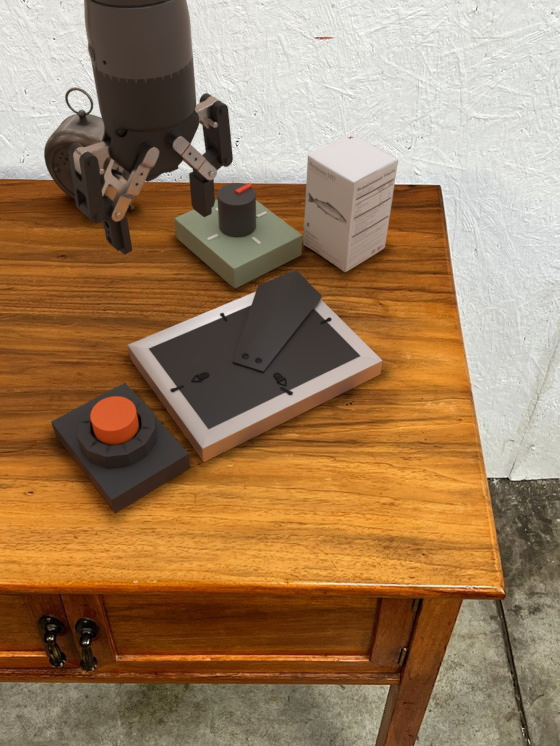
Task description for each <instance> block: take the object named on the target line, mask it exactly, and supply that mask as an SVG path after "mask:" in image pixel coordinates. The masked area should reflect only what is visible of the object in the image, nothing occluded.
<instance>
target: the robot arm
mask: <svg viewBox="0 0 560 746" xmlns="http://www.w3.org/2000/svg"><path fill="white" fill-rule="evenodd" d="M83 10H84V13H83V14H84V25H85V32H86V40H87V52H88V56H89V58H90V61H91V67H92V73H93V79H94V85H95V90H96V96H97V102H98V108H99V113H100V117H101V118H102V120H103V123H104V134H103V138H102V142H99V143H96V144H93V145H90V146H87V147H83V146H82V145H81V144H79V143H73V144H71V145H70V147H69V149H68V154H69V161H70V168H71V174H72V181H73V188H74V194H75V206H76V208H77V209H78V211H80V212H81V213H82V214H83V215H84V216H86V217H87V219H89V220H90V221H91V222H92V223H94V224H100V223H102V226H103V230H104V236H105V240H106V241H107V242H108V244H109V245H110V246H111V247H112V248H114V249H115V250H116V251H117V252H120V253H121V254H122V255H127V254H129V253H131V252H132V251H133V245H132V238H131V233H130V228H129V226H130V225H129V221H128V217H127V216H126V213H127V211H128V209H129V205H130V203H131V204H132V200H133V199H136V198H138V197H139V196H140V193H141V191H142V188H143V186H144V184H145V182H147V183H149V182H151V181H153V180H156V179H158V178H159V177H160V176H162V175H163V174H168V173H173V172H174V171H177V170H179V165H181V163H183V162H184V163H186V165H187V166H188V167H190V168H191V169H192V171H191V172H189V173H188V178H189V180H188V181H189V190H190V201H191V207H192V210H195V211H196V212H198V213H199V214H200V215H202V216H203V217H206V216H208V215H211V214H212V207H214V203H215V200H216V196H215V195H216V193H215V178H216V177H217V174H218V170H220V169H221V168H222V167H224V168H228V167H230V166H231V165H232V163H233V160H234V156H233V145H232V135H231V125H230V124H231V123H230V113H229V107H228V105H227V104H226V103H224V102H223V101H221V100H220V99H218V98H217V97H216V96H213V95H211V94H210V93H208V92H204V93H203V94H201V96H200V98H199V103H197V92H196V80H195V65H194V64H195V63H194V51H193V40H192V39H193V37H192V26H191V25H192V23H191V17H190V15H191V14H190V11H189V5H188V1H187V0H83ZM200 125H201V126H202V133H203V142H204V150H205V152H204V153H203V154H202V153H201V152H200V151H198V150H197V149H196V148H195V147H194V146H193V145H192V142H193V140H194V137H195V135H196V133H197V131H198V129H199V126H200ZM108 157H110V158H111V160H110V163H109V165H108V167H107V169H106V172H105V174H104V180H105V184H104V186H103V188H102V187H101V179H100V175H102V174H103V173H104V169H103V168H104V162H105V160H106V159H107V158H108ZM124 169H125V170H126V171H127V172H128V173H130V177H129V179H128V181H126V180H125V179H124V178H123V176H122V173H123V170H124ZM117 192H118V194H117ZM116 195H117V196H116ZM115 197H116V198H115ZM114 199H115V201H114Z"/></svg>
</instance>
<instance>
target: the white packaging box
mask: <svg viewBox="0 0 560 746" xmlns="http://www.w3.org/2000/svg"><path fill="white" fill-rule="evenodd" d="M398 165H399V158H398V157H396V156H394V155H393V154H390V153H388V152H387V151H385V150H383V149H381V148H379V147H377V146H376V145H374V144H373V143H371V142H369V141H367V140H365V139H363V138H362V137H360V136H357V135H356V134H355V133H353V132H351V133H348V134H345V135H344V136H341V137H340V138H338V139H336V140H334V141H331V142H330V143H328V144H326V145H324V146H322V147H320V148H318V149H316V150H314V151H312V152H310V153H309V154H307V163H306V180H305V181H306V183H305V184H306V185H305V201H304V203H305V204H304V217H303V218H304V219H303V237H302V246H305V247H307V248H308V249H310V250H311V251H312V252H315V253H316V254H318V255H319V256H320V257H322V258H323V259H325V260H326V261H328V262H329V263H331V264H332V265H334V266H335V267H337V268H338V269H339V270H340V271H342V272H343V273H348V272H349V271H350V270H352V269H353V268H355V267H357V266H359V265H360V264H362V263H363V262H365V261H367V260H368V259H370V258H371V257H373V256H375V255H376V254H377V253H380V252H381V251H382V250H384V249H385V248H386V242H387V236H388V231H389V225H390V224H389V223H390V216H391V212H392V211H391V210H392V203H393V197H394V190H395V185H396V183H395V182H396V176H397V171H398V170H397V169H398Z"/></svg>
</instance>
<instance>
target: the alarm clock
mask: <svg viewBox="0 0 560 746" xmlns="http://www.w3.org/2000/svg"><path fill="white" fill-rule="evenodd" d="M74 91H76V92H77V91H78V92H81V93H82V94H84V95H85V96H86V97H87V99H88V101H89V103H90V108H89V110H88V111H87V112H86V110H84V109H79V110H78V111H77V110H76V109H74V108H73V107H72V105H71V104H70V102H69V95H70V93H71V92H74ZM64 99H65V103H66V105H67V107H68V108H69V109H70V110H71V112H73V113H74V114H71V115H69V116H67V117H66V118H65V119H63V120H62V122H61V123H60V124H59V125H58V126H57V128H56V129H55V130H54V131H53V132H52V133H51V135H50V136H49V137H48V138H47V141H46V142H45V146H44V149H43V159H44V162H45V167H46V169H47V172H48V174H49V176H50V177H51V179H52V180H53V182H54V183H55V184H56V186H57V187H58V188H59V189H61V191H62V192H63V193H65V194H66V195H67V196H68V197H69V198H71V199H73V200H75V194H74V188H73V181H72V174H71V168H70V161H69V154H68V149H69V147H70V145H71V144H73V143H79V144H81V145H82V146H83V147H87V146H90V145H93V144H96V143H99V142H102V138H103V134H104V123H103V120H102V117H101V116H98V115H95V114H92V113H91V112H92V111H93V109H94V100H93V98H92V96H91V95H90V94H89V93H88V91H86V90H84V89H83V88H81V87H78V86H77V87H76V86H75V87H74V86H73V87H70V88H69V89H68V90H66V92H65V94H64ZM110 160H111V158H110V157H108V158H107V159H106V160H105V162H104V168H103V169H104V173H103V174H102V175H100V179H101V187H102V188H103V186H104V184H105V180H104V174H105V172H106V169H107V167H108V165H109V163H110ZM122 176H123V178H124V179H125V180H126V181H128V179H129V177H130V173H128V172H127V171H126V170H125V169H124V170H123V173H122ZM117 194H118V192H117ZM116 196H117V195H116ZM115 198H116V197H115ZM114 201H115V199H114ZM128 209H129V211H131V212H133V211H134V210H135V206H134V205H133V204H132V202H131V203H130V205H129V207H128Z"/></svg>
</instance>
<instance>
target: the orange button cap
mask: <svg viewBox="0 0 560 746" xmlns="http://www.w3.org/2000/svg"><path fill="white" fill-rule="evenodd" d="M90 418H91V422H92V426H93V430H94V433H95V436H96V437H97V439H98V440H99V441H101V442H103V443H105V444H108V445H119V444H123V443H125V442H127V441H129V440H131V439H132V438H133V437H134V436H135V435H136V433H137V431H138V428H139V422H138V417H137V412H136V408H135V405H134V404H133V403H132V402H131V401H130V400H129V399H127V398H124V397H119V396H113V397H108V398H105V399H103V400H101V401H99V402H98V403H97V404H96V405H95V406H94V407H93V409H92V411H91V414H90Z"/></svg>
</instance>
